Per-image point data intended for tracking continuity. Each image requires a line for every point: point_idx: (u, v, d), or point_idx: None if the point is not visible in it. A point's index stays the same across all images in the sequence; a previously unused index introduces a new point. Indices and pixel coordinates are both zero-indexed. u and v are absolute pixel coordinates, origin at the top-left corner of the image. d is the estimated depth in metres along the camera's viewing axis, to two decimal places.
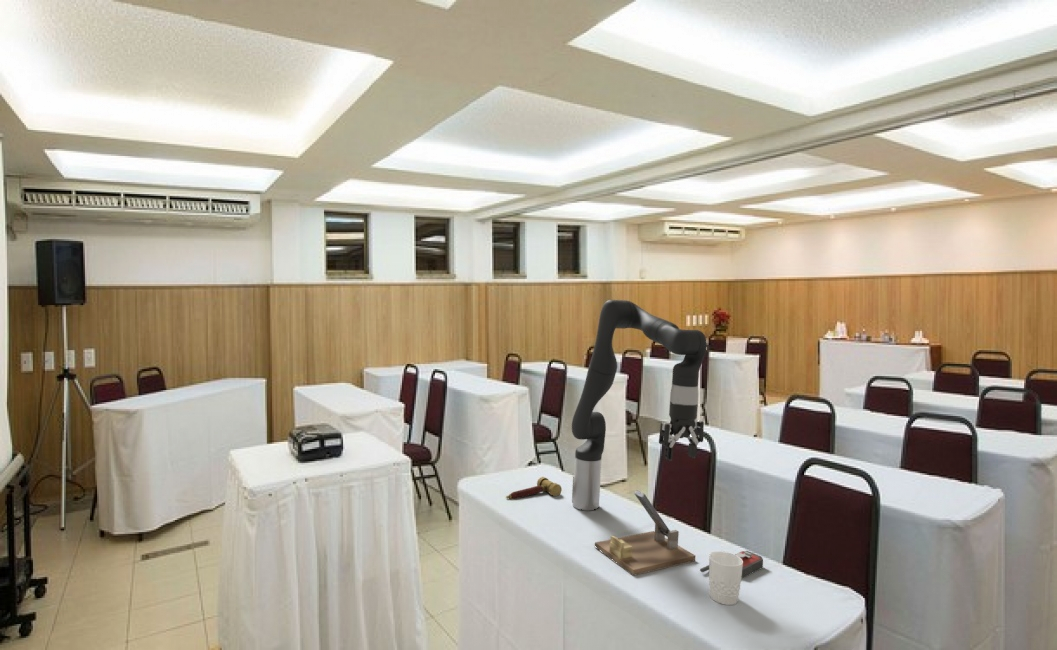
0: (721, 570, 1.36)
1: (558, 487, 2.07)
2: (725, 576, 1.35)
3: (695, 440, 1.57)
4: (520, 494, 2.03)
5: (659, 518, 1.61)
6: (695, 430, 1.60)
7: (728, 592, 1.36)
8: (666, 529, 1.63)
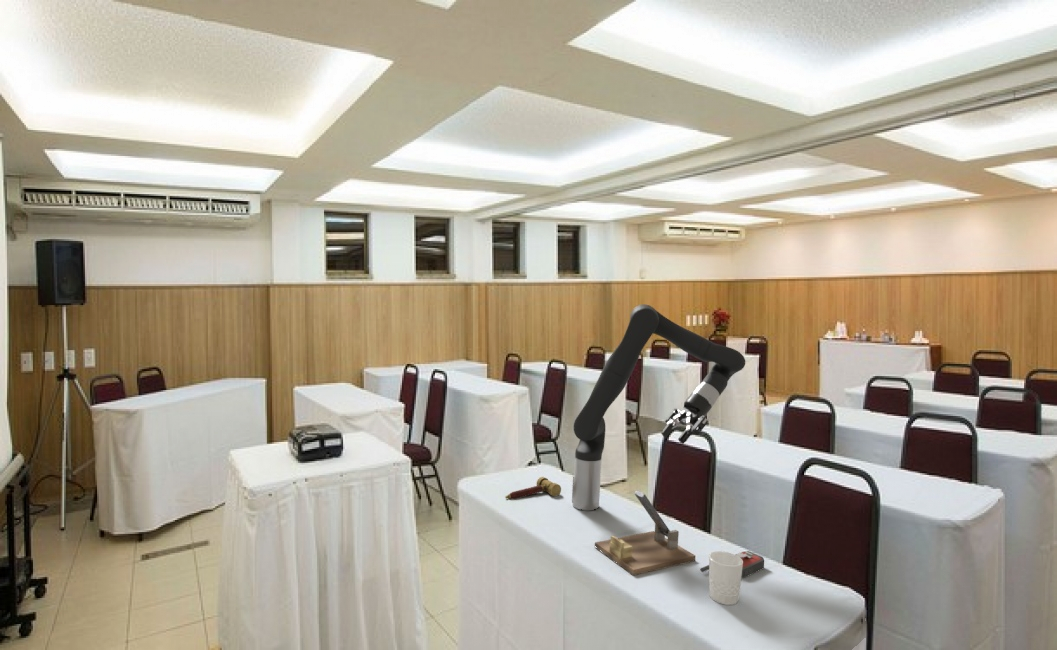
0: (721, 570, 1.36)
1: (558, 487, 2.07)
2: (725, 576, 1.35)
3: None
4: (519, 494, 2.03)
5: (659, 518, 1.61)
6: (672, 415, 1.81)
7: (728, 592, 1.36)
8: (666, 529, 1.63)
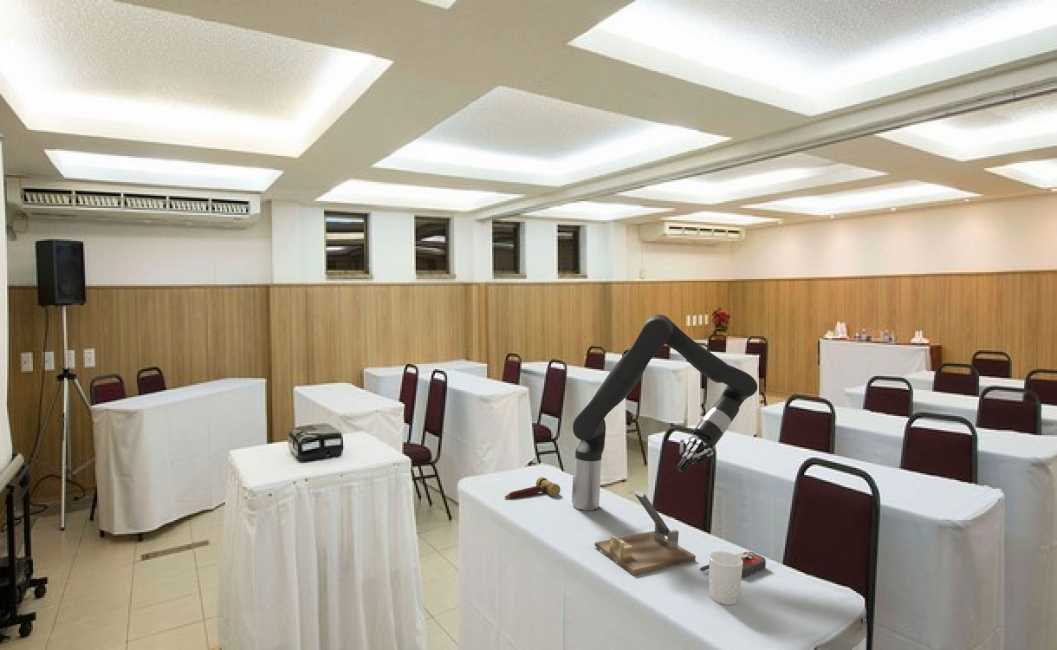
0: (721, 570, 1.36)
1: (557, 487, 2.07)
2: (725, 576, 1.35)
3: None
4: (518, 494, 2.03)
5: (659, 518, 1.61)
6: (684, 447, 1.71)
7: (728, 592, 1.36)
8: (666, 529, 1.63)
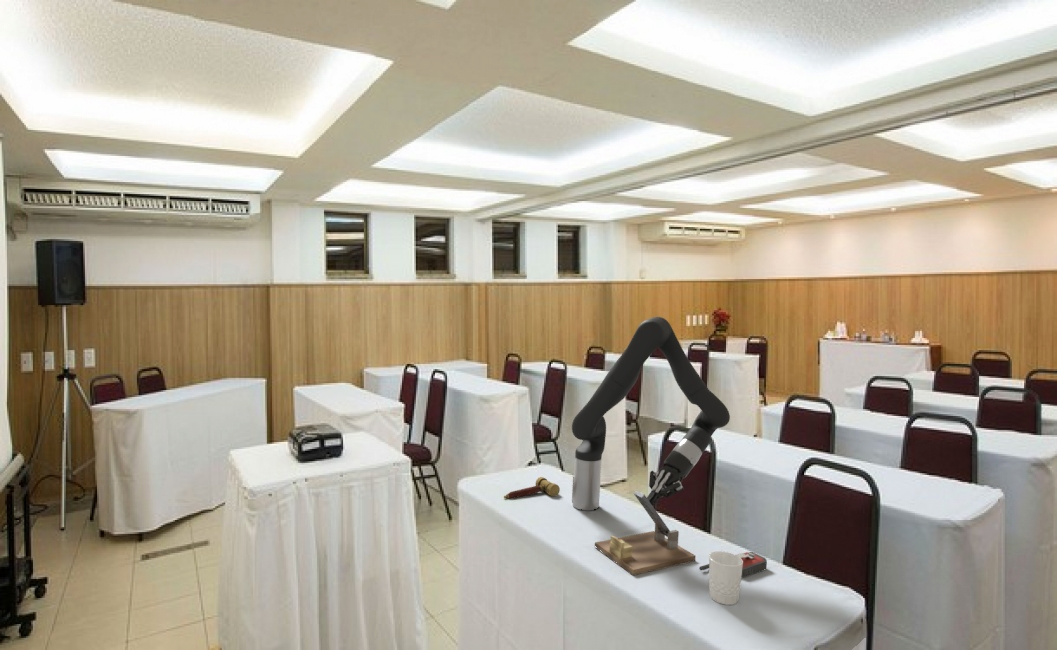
0: (721, 570, 1.36)
1: (556, 487, 2.07)
2: (725, 576, 1.35)
3: None
4: (517, 494, 2.03)
5: (659, 518, 1.61)
6: (654, 479, 1.67)
7: (728, 592, 1.36)
8: (666, 529, 1.63)
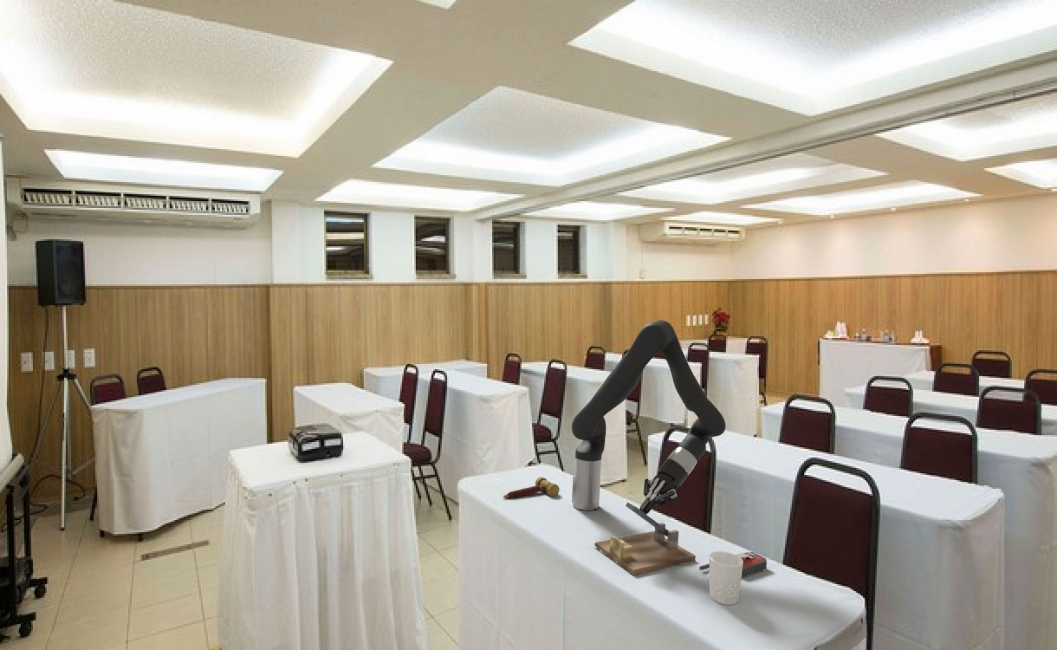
0: (721, 570, 1.36)
1: (556, 487, 2.07)
2: (725, 576, 1.35)
3: None
4: (517, 494, 2.03)
5: (655, 523, 1.61)
6: (648, 487, 1.66)
7: (728, 592, 1.36)
8: (665, 531, 1.63)
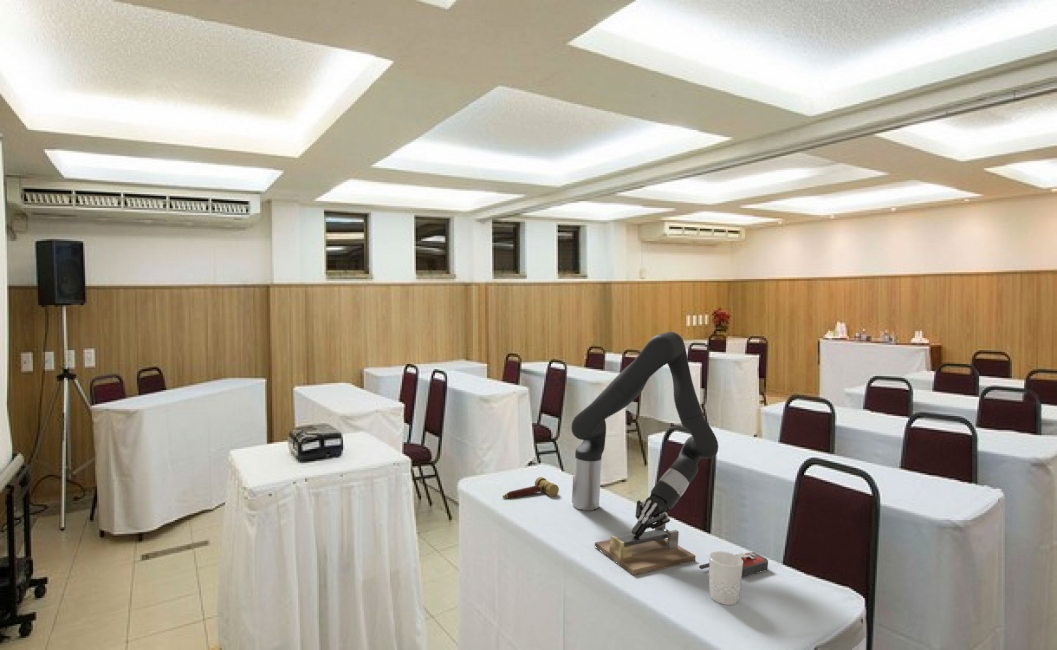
0: (721, 570, 1.36)
1: (555, 487, 2.07)
2: (725, 576, 1.35)
3: None
4: (516, 493, 2.03)
5: (651, 538, 1.60)
6: (640, 509, 1.65)
7: (728, 592, 1.36)
8: (663, 536, 1.62)
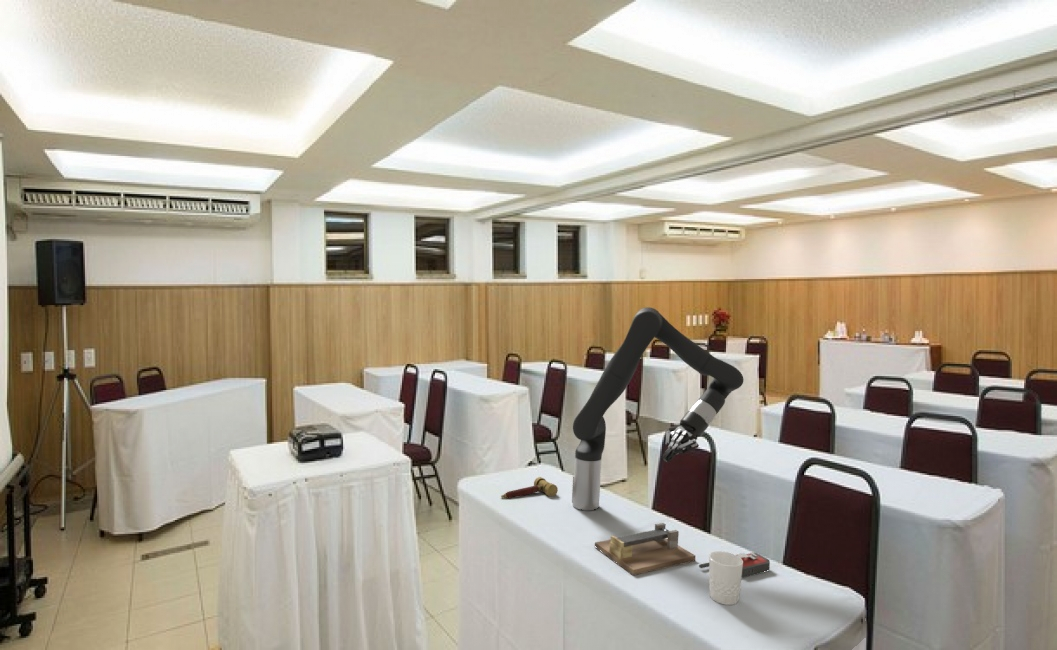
0: (721, 570, 1.36)
1: (554, 488, 2.07)
2: (725, 576, 1.35)
3: None
4: (515, 494, 2.03)
5: (651, 538, 1.60)
6: (670, 437, 1.75)
7: (728, 592, 1.36)
8: (663, 536, 1.62)
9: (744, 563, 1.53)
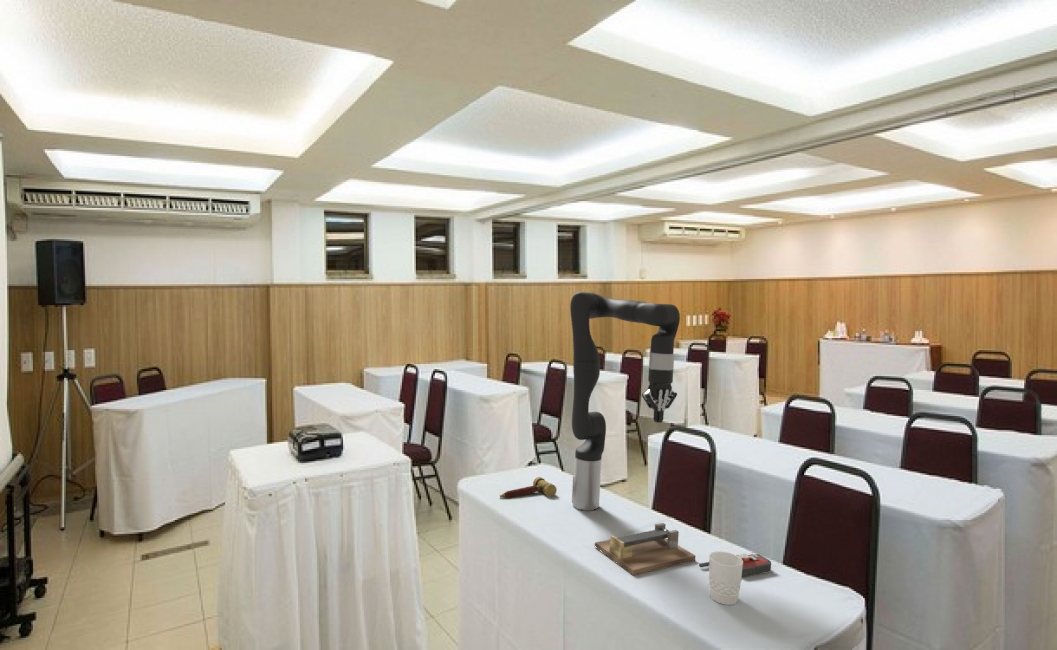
0: (721, 570, 1.36)
1: (553, 488, 2.07)
2: (725, 576, 1.35)
3: (663, 406, 1.76)
4: (514, 493, 2.03)
5: (651, 538, 1.60)
6: (666, 398, 1.79)
7: (728, 592, 1.36)
8: (663, 536, 1.62)
9: (744, 563, 1.53)
